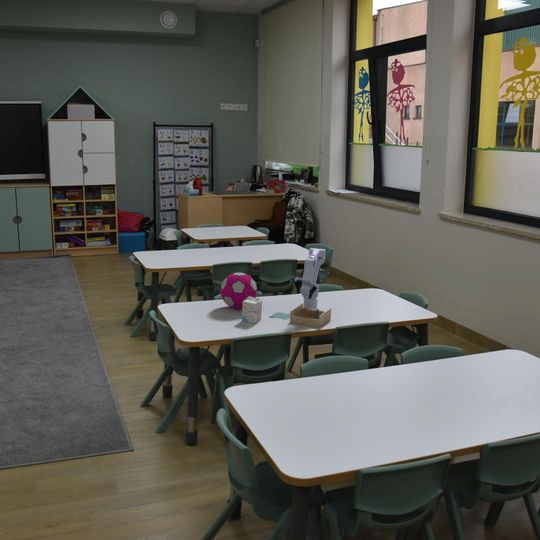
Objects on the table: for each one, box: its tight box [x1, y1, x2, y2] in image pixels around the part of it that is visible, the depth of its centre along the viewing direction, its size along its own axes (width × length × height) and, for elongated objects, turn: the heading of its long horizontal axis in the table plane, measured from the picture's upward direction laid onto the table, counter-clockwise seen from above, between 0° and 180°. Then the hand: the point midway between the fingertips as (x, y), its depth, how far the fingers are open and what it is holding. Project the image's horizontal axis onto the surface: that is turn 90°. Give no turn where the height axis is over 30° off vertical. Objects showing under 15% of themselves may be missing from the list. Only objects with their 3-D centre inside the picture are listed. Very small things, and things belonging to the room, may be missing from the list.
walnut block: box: [303, 307, 320, 320], centre depth 389 cm, size 4×8×7 cm, turn 65°
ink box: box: [241, 296, 263, 324], centre depth 386 cm, size 9×8×13 cm
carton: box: [289, 303, 332, 328], centre depth 389 cm, size 18×18×7 cm
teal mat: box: [269, 311, 290, 321], centre depth 397 cm, size 11×11×1 cm
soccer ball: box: [220, 272, 258, 310], centre depth 408 cm, size 22×22×22 cm
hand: (304, 295), depth 386 cm, fingers open, 7 cm apart
